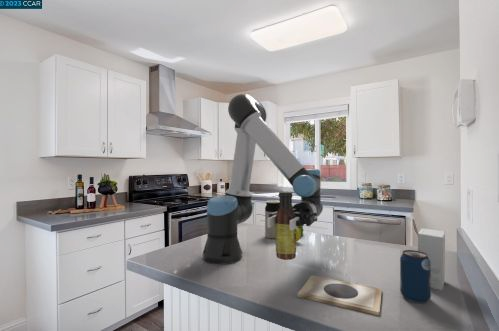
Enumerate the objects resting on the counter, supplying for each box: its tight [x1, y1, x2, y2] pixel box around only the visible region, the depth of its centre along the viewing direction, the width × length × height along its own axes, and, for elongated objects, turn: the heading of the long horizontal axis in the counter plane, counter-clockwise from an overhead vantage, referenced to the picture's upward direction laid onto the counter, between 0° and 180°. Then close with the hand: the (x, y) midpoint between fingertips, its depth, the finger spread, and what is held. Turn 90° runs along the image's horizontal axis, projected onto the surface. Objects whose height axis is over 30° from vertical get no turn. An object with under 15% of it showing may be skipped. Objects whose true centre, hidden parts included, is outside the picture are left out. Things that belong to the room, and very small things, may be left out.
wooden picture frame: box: [297, 275, 383, 316], centre depth 75 cm, size 20×14×1 cm
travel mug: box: [264, 199, 280, 240], centre depth 137 cm, size 8×8×18 cm
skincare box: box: [417, 227, 446, 291], centre depth 82 cm, size 8×7×16 cm
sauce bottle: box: [275, 191, 297, 261], centre depth 83 cm, size 6×6×20 cm
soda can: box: [399, 249, 432, 304], centre depth 73 cm, size 7×7×12 cm
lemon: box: [296, 226, 304, 243], centre depth 126 cm, size 7×6×10 cm
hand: (279, 224), depth 78 cm, fingers closed on sauce bottle, 6 cm apart
